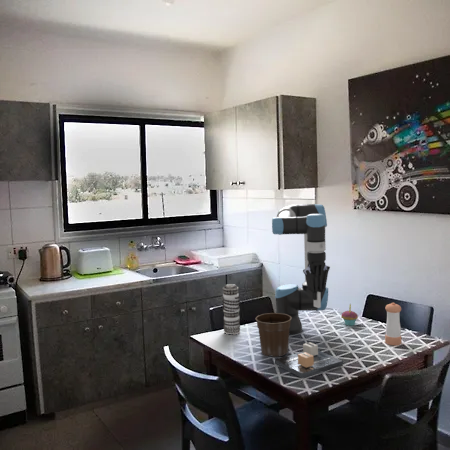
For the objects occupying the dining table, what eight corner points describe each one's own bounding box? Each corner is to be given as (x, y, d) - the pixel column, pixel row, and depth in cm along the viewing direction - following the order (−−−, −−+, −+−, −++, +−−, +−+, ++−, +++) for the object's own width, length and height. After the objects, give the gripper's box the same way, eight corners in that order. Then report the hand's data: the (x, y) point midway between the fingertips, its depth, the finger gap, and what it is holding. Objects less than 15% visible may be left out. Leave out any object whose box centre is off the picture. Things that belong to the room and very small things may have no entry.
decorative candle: (237, 328, 256) (235, 282, 253) (243, 333, 247) (242, 285, 245) (220, 331, 253) (219, 284, 250) (227, 336, 244) (225, 287, 241)
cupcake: (359, 326, 252) (359, 304, 251) (343, 327, 252) (343, 304, 251) (355, 321, 261) (355, 299, 259) (339, 322, 261) (339, 300, 260)
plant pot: (249, 350, 224) (248, 316, 222) (278, 343, 231) (277, 310, 230) (269, 361, 210) (268, 325, 208) (299, 353, 217) (298, 318, 216)
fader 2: (298, 363, 200) (297, 353, 200) (305, 361, 202) (305, 351, 202) (306, 367, 196) (305, 357, 195) (313, 365, 198) (313, 355, 197)
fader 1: (303, 352, 212) (303, 343, 211) (310, 350, 214) (310, 341, 213) (310, 356, 207) (310, 346, 207) (317, 354, 209) (317, 344, 209)
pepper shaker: (382, 343, 227) (382, 303, 225) (389, 339, 232) (389, 299, 230) (397, 346, 222) (397, 305, 220) (404, 342, 227) (404, 302, 225)
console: (274, 363, 207) (274, 358, 207) (314, 352, 218) (313, 347, 218) (301, 378, 192) (301, 372, 191) (342, 365, 203) (342, 360, 203)
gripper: (310, 254, 194) (311, 311, 197) (334, 250, 200) (335, 306, 203) (298, 252, 200) (299, 307, 203) (322, 248, 207) (322, 302, 210)
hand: (317, 306), depth 203 cm, fingers closed
